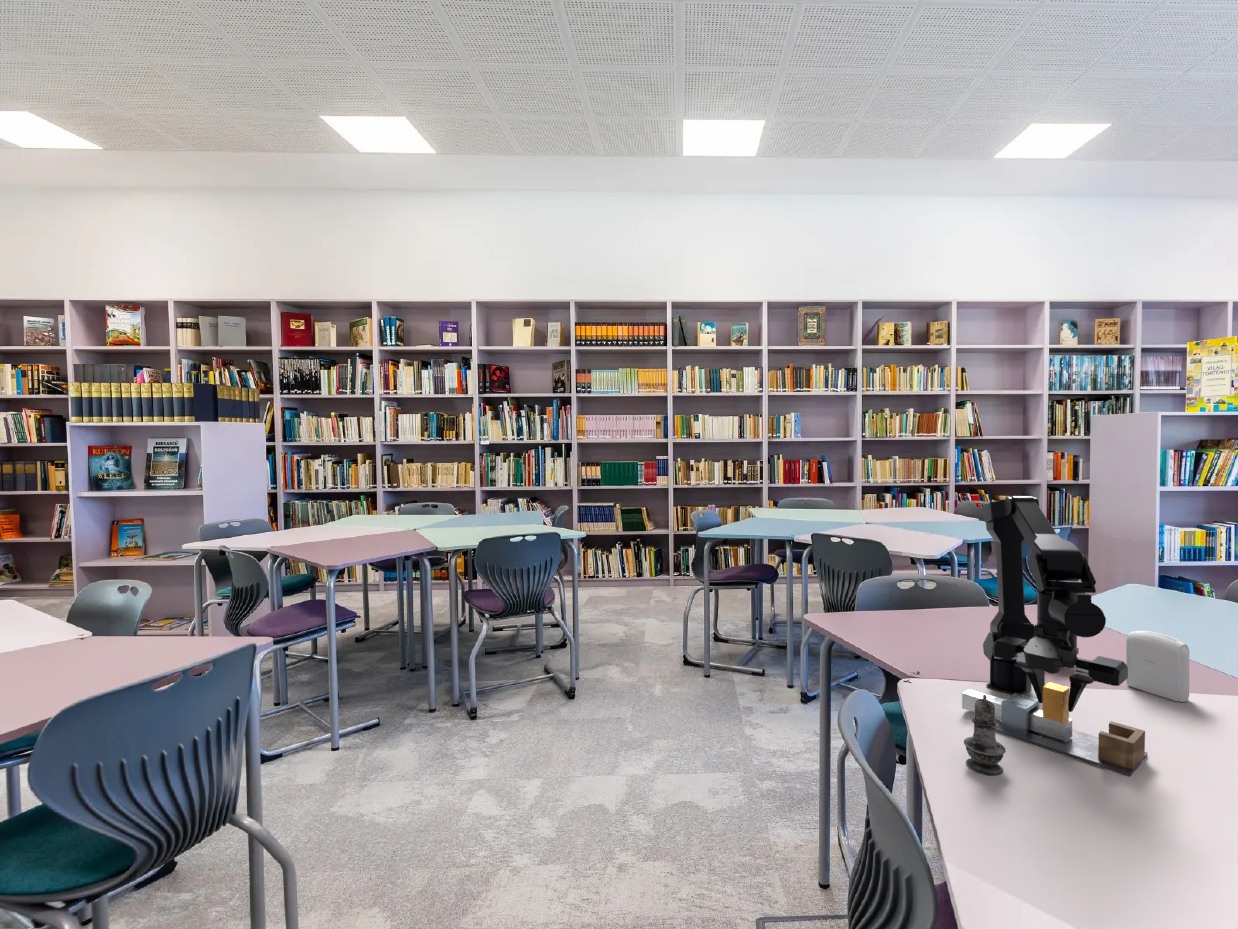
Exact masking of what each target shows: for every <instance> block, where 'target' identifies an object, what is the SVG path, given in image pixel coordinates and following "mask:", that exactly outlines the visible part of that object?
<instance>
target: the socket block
mask: <svg viewBox="0 0 1238 929" xmlns="http://www.w3.org/2000/svg"><path fill="white" fill-rule="evenodd" d="M1098 738H1099V741H1098V758H1099V759H1102V760H1105V761H1108V762H1111V763H1114V764H1117V765H1120V766H1124V767H1127V768H1130V769H1134V768H1135V767H1136V766H1137V764H1138V763H1139V762H1140V761H1141V760H1142V758H1143V757H1144V756H1145V752H1146V743H1145V742H1146V730H1144V729H1140V728H1136V727H1132V726H1129V725H1126V724H1123V723H1119V722H1115V721H1113V720H1112V721H1110V722H1109V723H1108V732H1106V731H1102V730H1100V731H1099V732H1098Z"/></svg>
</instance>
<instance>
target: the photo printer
mask: <svg viewBox="0 0 1238 929" xmlns="http://www.w3.org/2000/svg"><path fill="white" fill-rule="evenodd" d="M1125 652H1126V653H1125V654H1126V663H1125V664H1126V665H1127V667H1128V678H1127V679H1126V680H1125V681H1126V685H1127V686H1128V687H1132V688H1134V689H1137V690H1140V691H1143V692H1147V693H1149V694H1153V695H1155V696H1158V697H1162V698H1166V699H1168V700H1172V701H1176V702H1178V701H1179V702H1180V703H1187V702H1188V701H1189V698H1190V648H1189V646H1188V644H1186V643H1185V642H1183V641H1181V640H1180V639H1177V638H1174V637H1172V636H1170V635H1167V634H1164V633H1160V632H1155V631H1149V630H1135V631H1130V632H1129V633H1128V635H1127V638H1126V651H1125Z"/></svg>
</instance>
